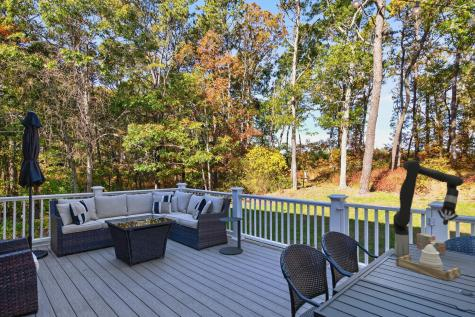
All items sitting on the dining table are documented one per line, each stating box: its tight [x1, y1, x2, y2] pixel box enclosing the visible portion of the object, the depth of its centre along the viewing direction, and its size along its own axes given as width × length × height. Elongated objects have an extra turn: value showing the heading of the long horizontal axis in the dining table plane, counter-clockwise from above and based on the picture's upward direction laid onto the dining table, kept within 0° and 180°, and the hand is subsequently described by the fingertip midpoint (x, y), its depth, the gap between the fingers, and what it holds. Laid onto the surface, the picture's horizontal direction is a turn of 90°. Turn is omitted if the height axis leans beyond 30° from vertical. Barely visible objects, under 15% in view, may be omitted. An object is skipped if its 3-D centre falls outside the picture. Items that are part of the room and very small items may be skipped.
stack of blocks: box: [416, 232, 447, 255], centre depth 224 cm, size 21×6×12 cm, turn 11°
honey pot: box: [418, 242, 444, 271], centre depth 183 cm, size 13×13×18 cm
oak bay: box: [395, 254, 461, 282], centre depth 181 cm, size 16×31×5 cm, turn 29°
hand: (444, 224), depth 199 cm, fingers closed
